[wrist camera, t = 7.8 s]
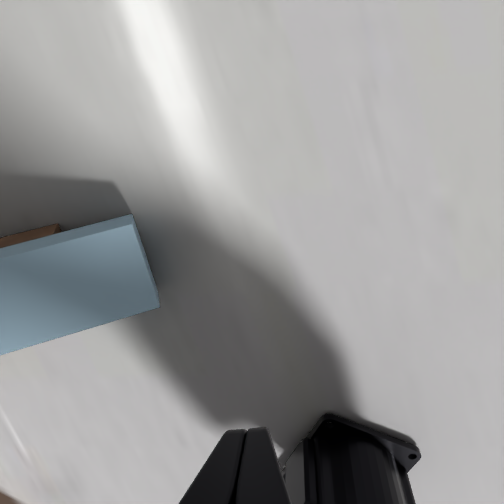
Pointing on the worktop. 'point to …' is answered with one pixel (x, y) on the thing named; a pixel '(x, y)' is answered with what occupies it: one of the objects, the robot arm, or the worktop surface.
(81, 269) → the domino
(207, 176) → the worktop surface
